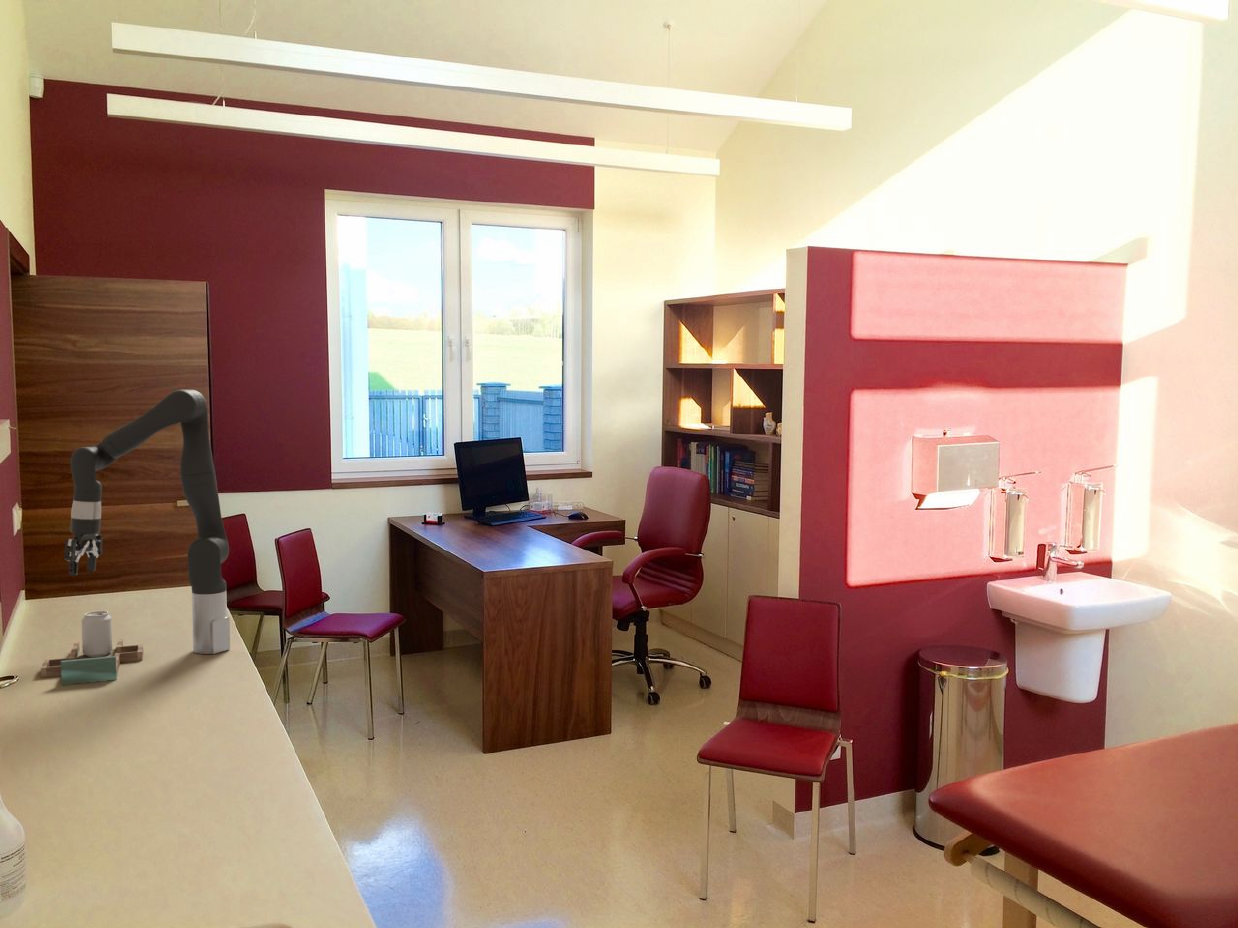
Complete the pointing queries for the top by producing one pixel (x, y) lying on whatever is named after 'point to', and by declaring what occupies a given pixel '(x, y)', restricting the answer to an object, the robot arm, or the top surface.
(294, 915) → the top surface
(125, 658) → the trap channel
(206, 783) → the top surface
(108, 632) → the can
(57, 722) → the top surface
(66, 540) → the robot arm
